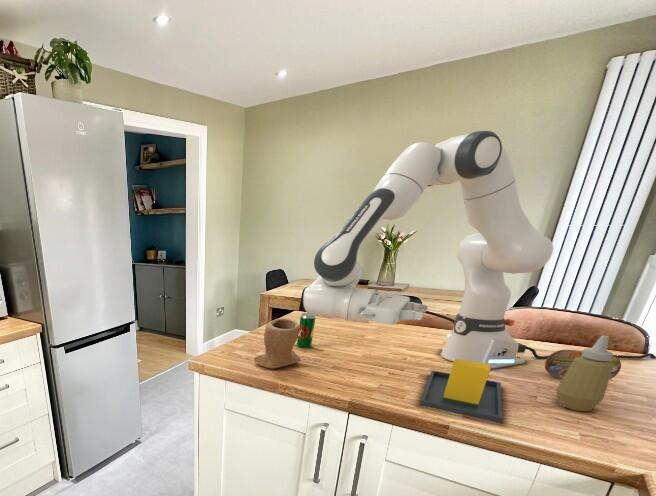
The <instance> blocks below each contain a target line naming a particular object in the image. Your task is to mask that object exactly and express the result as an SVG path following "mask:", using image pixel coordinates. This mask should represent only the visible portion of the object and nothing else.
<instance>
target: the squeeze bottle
mask: <svg viewBox="0 0 656 496" xmlns="http://www.w3.org/2000/svg"><path fill="white" fill-rule="evenodd" d="M609 339H610V336H609V335H601V336H599V338H598V339H597V341H596V342H595V343H594V344H593V345H592V347H590V348H588V347H587V348H584V349H583V350H582V351H583V353H582V355H581V357H577V358H575V359H574V360H573V362H572V364H571V365H570V367H569V369H568V370H567V372H566V374H565V375H564V377H563V379H560V382H559V384H558V386H557V387H556V390H555V391H556V403H558V405H561V406H563V407H564V408H566V409H569V410H573V411H578V412H590V411H592V410H593V409H594V408H595V407H596V406H597V405H599V403H601V402H602V401H603V400H604V398H605V395H606V392H607V389H608V385H609V382H610V380H611V379H610V376H611V373H612V369H613V366H614V365H613V364H612V363H611V362H610V361H609V360H610V359H611V357H612V355H614V353H613V352H612V351H609V350H608V348H609ZM609 379H610V380H609Z"/></svg>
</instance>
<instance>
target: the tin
mask: <svg viewBox="0 0 656 496" xmlns="http://www.w3.org/2000/svg"><path fill="white" fill-rule="evenodd" d="M583 351H584V350H577V349H559V350H557V351H554V352H552V353H550V354H549V355H547V356H548V358H547V359H545V361H544V369H545V371H546V372H547V373H548V374H549V375H550V376H551V377H553V378H555V379H558V380H562V379H563V377H564V375H565V374H566V372H567V370H568V369H569V367H570V365H571V364H572V362H573V360H574V359H575V358H577V357H581V355H582V353H583ZM614 355H615V354H613V355H612V357H611V359H610V360H609V361H610V362H611V363H612V364H613V365H614V366H613V369H612V373H611V376H610V379H609V381H610V380H612V379H613V378H615V377H616V376H617V375H618V374H619V373H620V371H621V369H622V362H621V360H620V358H617V357H616V356H614Z"/></svg>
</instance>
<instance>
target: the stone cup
mask: <svg viewBox="0 0 656 496" xmlns="http://www.w3.org/2000/svg"><path fill="white" fill-rule="evenodd" d="M263 334H264V335H263V343H264V348H265V353H264V354H263V353H262V354H260V355H257V356H255V357H253V362H254V363H256V364H257V365H258V366H260V367H264V368H266V369H279V368H282V367H287V366H289V365H293V364H296V363H299V362H301V358H300V357H299V355H298V354H297V353H296V352H295V350H293V348H294V346H295V344H296V343H297V338H298V335H299V324H298V322H296V321H295V320H292V319H290V318H284V317H283V318H282V317H279V318H275V319H273V320H271V321H269V322H268V323H267V324H266V326H265V329H264V333H263Z"/></svg>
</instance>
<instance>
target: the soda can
mask: <svg viewBox="0 0 656 496" xmlns="http://www.w3.org/2000/svg"><path fill="white" fill-rule="evenodd" d="M316 317H317V316H314V315H310V314H308V313H307V312H302V313H301V315H300V317H299V324H298V325H299V335H298V338H297V340H296V345H297V347H299V348H302V349H307V348H311V346H312V344H313V337H314V330H315V325H316V319H317V318H316Z"/></svg>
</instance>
